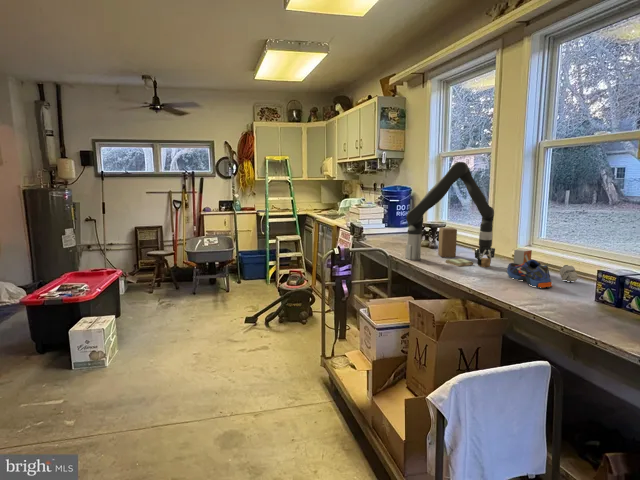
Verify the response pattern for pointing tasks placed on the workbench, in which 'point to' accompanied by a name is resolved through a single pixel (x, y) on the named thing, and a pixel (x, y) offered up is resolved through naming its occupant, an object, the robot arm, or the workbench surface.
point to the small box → (522, 256)
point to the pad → (459, 262)
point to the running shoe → (530, 273)
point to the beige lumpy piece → (568, 273)
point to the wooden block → (447, 242)
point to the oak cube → (485, 262)
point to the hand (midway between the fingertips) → (484, 264)
